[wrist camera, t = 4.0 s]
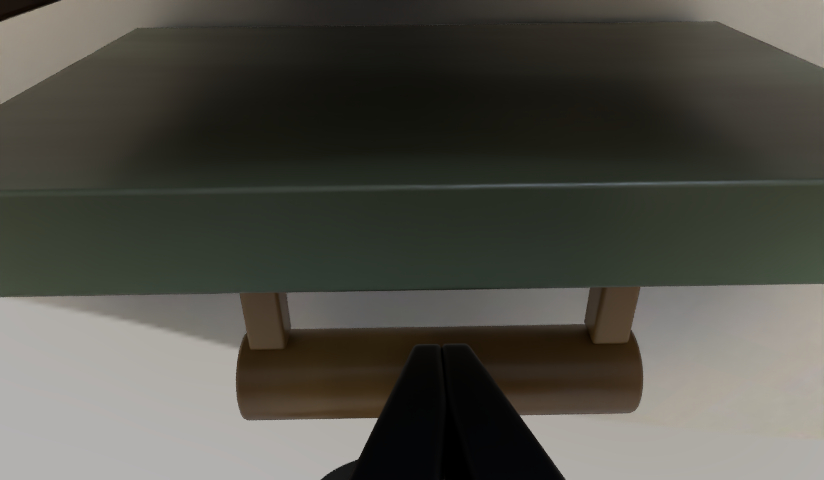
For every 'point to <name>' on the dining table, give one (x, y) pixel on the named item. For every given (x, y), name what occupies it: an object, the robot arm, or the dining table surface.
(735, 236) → the drawer
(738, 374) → the dining table surface
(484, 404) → the robot arm
